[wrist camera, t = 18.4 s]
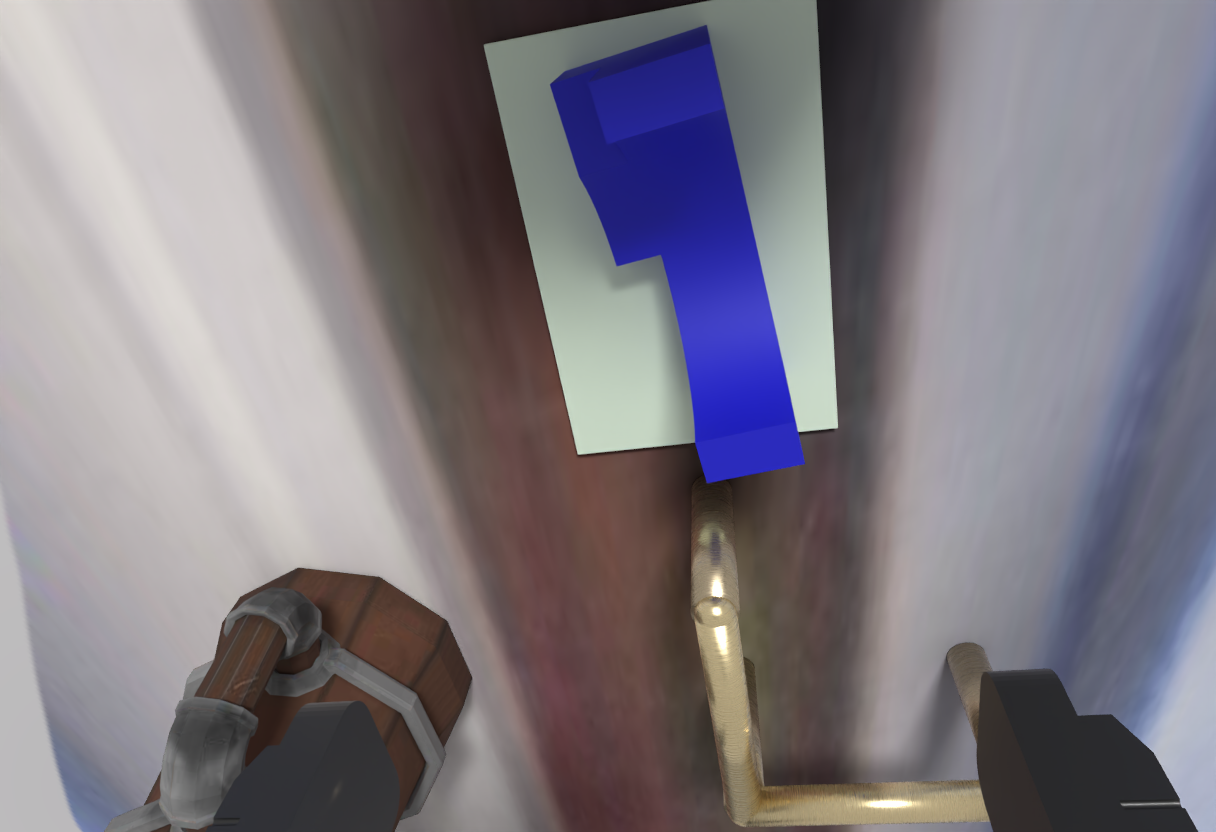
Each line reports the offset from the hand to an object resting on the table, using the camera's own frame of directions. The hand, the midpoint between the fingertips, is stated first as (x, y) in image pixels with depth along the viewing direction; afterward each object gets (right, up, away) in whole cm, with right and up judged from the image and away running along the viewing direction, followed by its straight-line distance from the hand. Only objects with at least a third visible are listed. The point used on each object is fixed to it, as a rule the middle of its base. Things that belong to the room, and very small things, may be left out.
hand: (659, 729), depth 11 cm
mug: (-13, -6, +28) cm, 32 cm away
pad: (+2, +10, +17) cm, 20 cm away
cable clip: (+2, +10, +17) cm, 20 cm away
